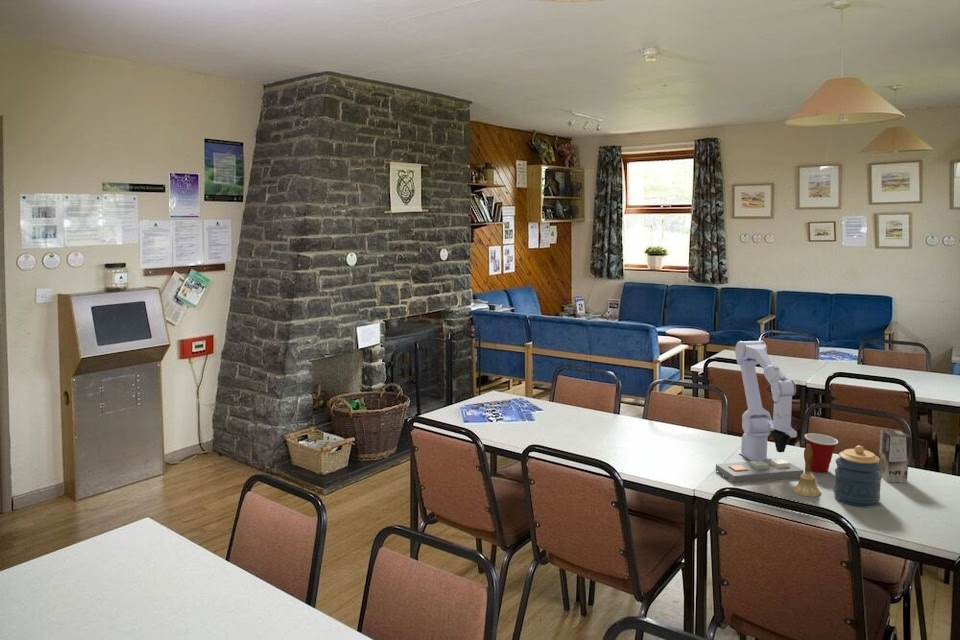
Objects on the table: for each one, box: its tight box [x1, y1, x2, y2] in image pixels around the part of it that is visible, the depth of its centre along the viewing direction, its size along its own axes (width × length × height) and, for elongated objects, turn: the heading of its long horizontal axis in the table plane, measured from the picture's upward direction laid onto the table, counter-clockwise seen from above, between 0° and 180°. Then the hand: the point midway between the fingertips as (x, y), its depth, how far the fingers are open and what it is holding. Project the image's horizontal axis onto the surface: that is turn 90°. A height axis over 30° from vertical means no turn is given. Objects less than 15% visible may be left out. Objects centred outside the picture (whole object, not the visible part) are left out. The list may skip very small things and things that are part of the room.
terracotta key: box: [729, 465, 747, 472], centre depth 241 cm, size 4×4×2 cm
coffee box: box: [878, 428, 911, 484], centre depth 236 cm, size 9×6×16 cm
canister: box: [833, 445, 883, 508], centre depth 218 cm, size 13×13×18 cm
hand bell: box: [792, 443, 822, 497], centre depth 225 cm, size 8×8×16 cm
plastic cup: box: [804, 432, 839, 474], centre depth 245 cm, size 11×11×12 cm
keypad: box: [715, 460, 804, 484], centre depth 242 cm, size 12×26×2 cm, turn 100°
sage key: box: [749, 460, 769, 470], centre depth 242 cm, size 4×4×2 cm
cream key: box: [770, 458, 790, 468], centre depth 244 cm, size 4×4×2 cm
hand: (780, 451), depth 243 cm, fingers closed
